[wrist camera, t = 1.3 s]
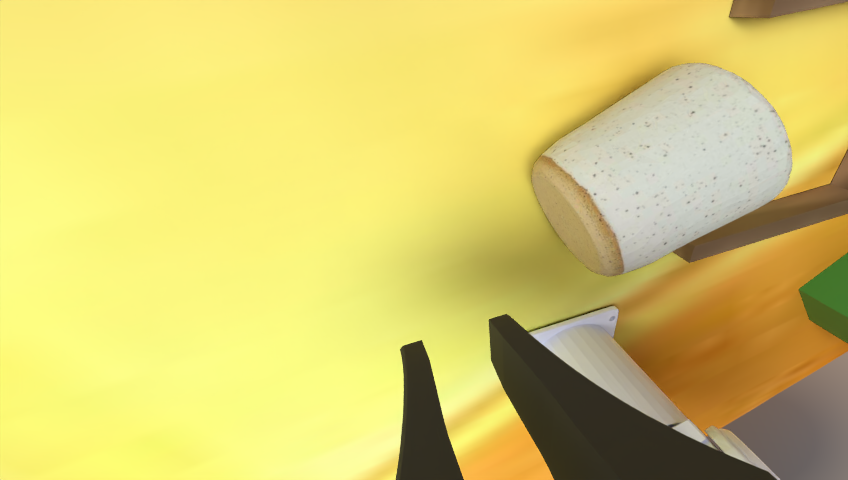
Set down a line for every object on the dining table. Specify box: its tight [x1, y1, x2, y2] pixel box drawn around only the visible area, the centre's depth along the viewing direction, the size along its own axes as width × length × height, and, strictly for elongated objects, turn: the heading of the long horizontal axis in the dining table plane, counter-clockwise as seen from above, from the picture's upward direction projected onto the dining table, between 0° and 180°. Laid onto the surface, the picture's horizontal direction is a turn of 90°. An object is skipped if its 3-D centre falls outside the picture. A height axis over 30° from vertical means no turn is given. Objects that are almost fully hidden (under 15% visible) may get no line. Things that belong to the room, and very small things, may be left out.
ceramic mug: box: [532, 63, 792, 276], centre depth 19 cm, size 11×8×8 cm
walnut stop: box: [672, 0, 848, 263], centre depth 23 cm, size 16×15×2 cm
